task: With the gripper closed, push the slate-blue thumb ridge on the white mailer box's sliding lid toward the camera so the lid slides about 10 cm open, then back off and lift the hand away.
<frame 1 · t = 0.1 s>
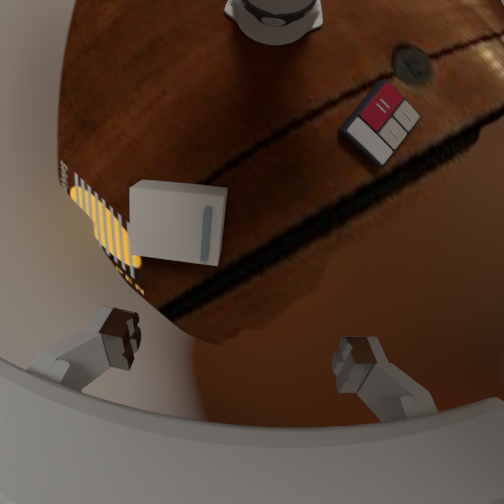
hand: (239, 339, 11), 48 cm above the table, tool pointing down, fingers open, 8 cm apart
mailer box: (181, 215, 59), on the table
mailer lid: (172, 229, 52), point 8 cm above the table, slide at 0.0 cm
calculator: (377, 122, 50), on the table
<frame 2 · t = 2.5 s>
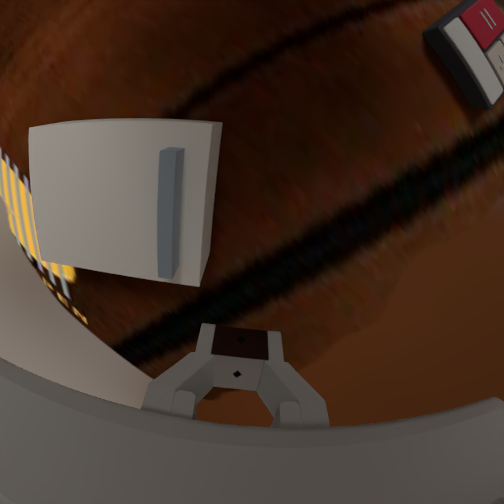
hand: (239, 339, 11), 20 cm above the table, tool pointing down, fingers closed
mailer box: (132, 183, 28), on the table
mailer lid: (98, 206, 21), point 8 cm above the table, slide at 0.0 cm
calculator: (474, 46, 19), on the table
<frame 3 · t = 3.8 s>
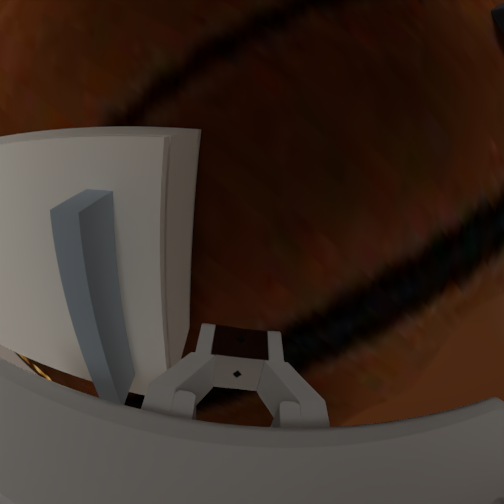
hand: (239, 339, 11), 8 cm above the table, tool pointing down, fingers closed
mailer box: (72, 227, 17), on the table
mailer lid: (3, 285, 10), point 8 cm above the table, slide at 0.0 cm
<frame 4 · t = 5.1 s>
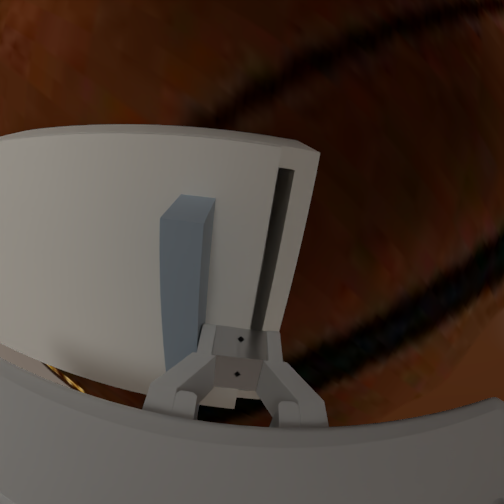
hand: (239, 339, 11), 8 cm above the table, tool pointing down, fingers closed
mailer box: (137, 234, 18), on the table
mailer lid: (53, 298, 11), point 8 cm above the table, slide at 1.5 cm, touching gripper
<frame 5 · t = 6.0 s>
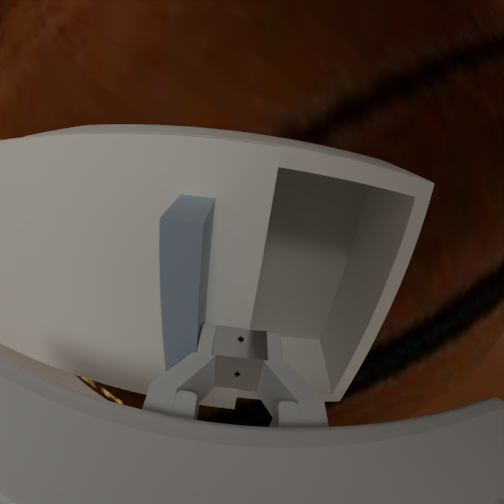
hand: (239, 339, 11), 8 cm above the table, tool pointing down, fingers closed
mailer box: (215, 244, 18), on the table
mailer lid: (53, 298, 11), point 8 cm above the table, slide at 6.7 cm, touching gripper
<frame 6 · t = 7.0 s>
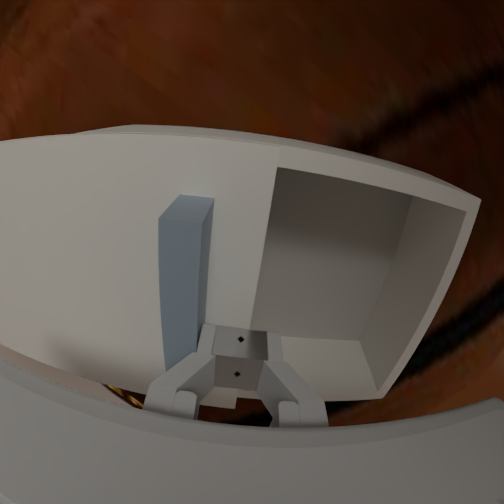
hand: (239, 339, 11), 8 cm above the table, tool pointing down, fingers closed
mailer box: (268, 251, 18), on the table
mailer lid: (53, 299, 11), point 8 cm above the table, slide at 10.0 cm, touching gripper
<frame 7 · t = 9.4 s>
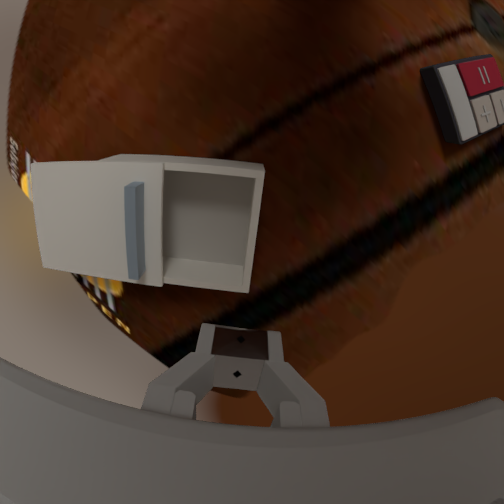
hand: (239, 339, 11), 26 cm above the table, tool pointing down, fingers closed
mailer box: (184, 211, 35), on the table
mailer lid: (85, 225, 28), point 8 cm above the table, slide at 10.0 cm
calculator: (464, 95, 28), on the table
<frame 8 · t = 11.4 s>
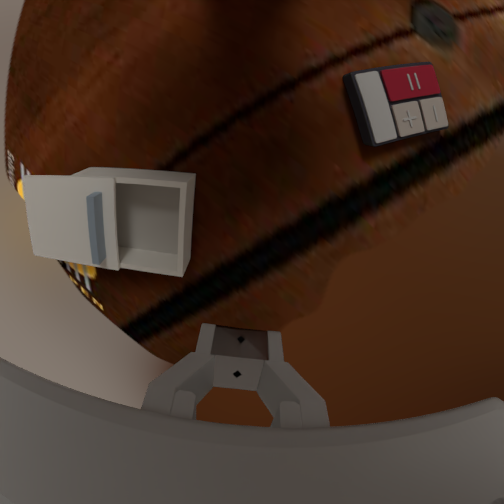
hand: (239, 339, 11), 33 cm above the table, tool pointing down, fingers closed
mailer box: (138, 212, 43), on the table
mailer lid: (62, 223, 36), point 8 cm above the table, slide at 10.0 cm
calculator: (394, 101, 35), on the table
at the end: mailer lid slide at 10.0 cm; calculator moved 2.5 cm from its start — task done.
